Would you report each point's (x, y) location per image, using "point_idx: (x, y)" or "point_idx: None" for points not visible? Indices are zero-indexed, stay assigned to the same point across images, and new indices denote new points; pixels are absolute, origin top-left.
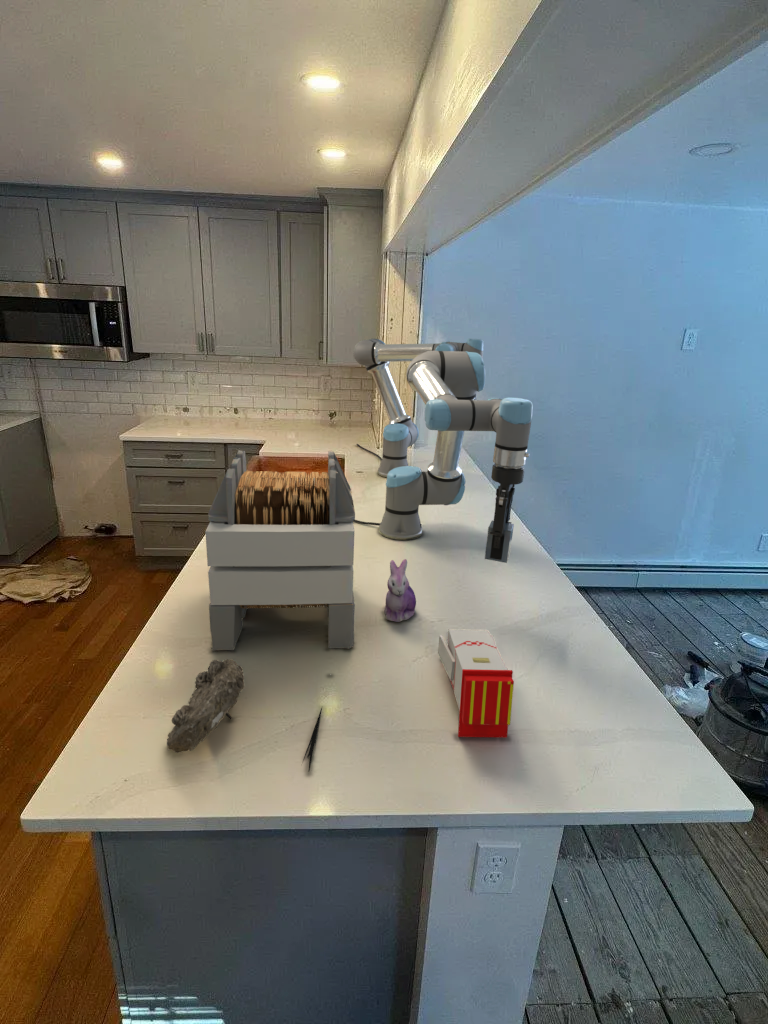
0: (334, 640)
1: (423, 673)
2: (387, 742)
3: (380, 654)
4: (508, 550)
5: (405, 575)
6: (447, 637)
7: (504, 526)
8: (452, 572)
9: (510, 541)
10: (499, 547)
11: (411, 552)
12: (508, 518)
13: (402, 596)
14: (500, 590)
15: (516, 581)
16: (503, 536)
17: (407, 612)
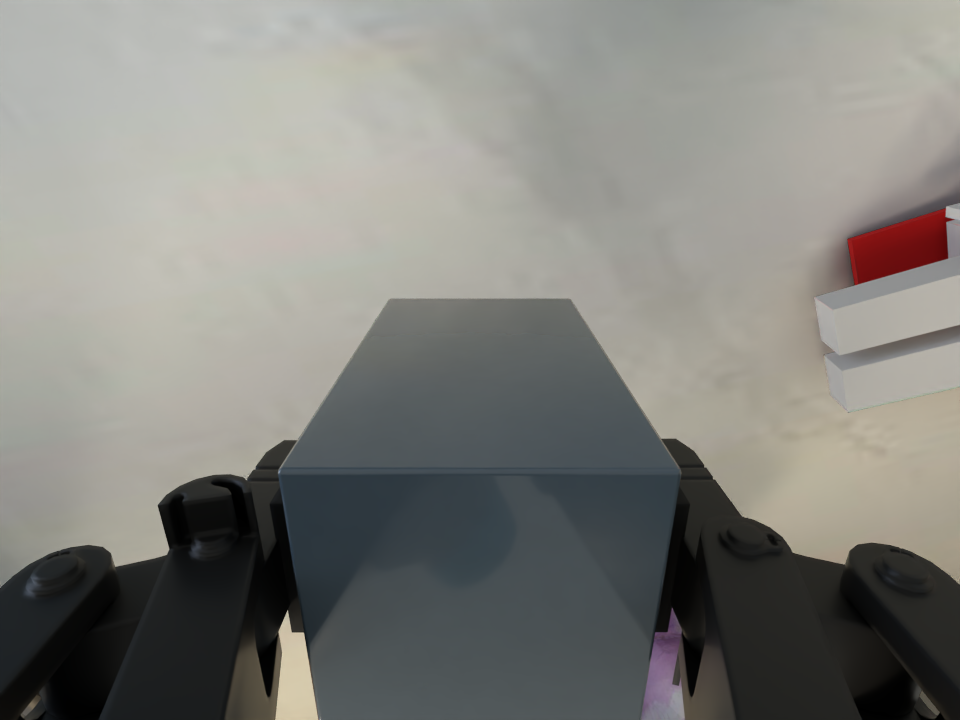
0: None
1: (950, 409)
2: None
3: (860, 543)
4: (581, 335)
5: (681, 708)
6: (835, 398)
7: (796, 652)
8: (181, 482)
9: (497, 363)
10: (670, 443)
11: None
12: (208, 630)
13: (678, 626)
14: (220, 266)
15: (75, 206)
16: (683, 501)
17: None
